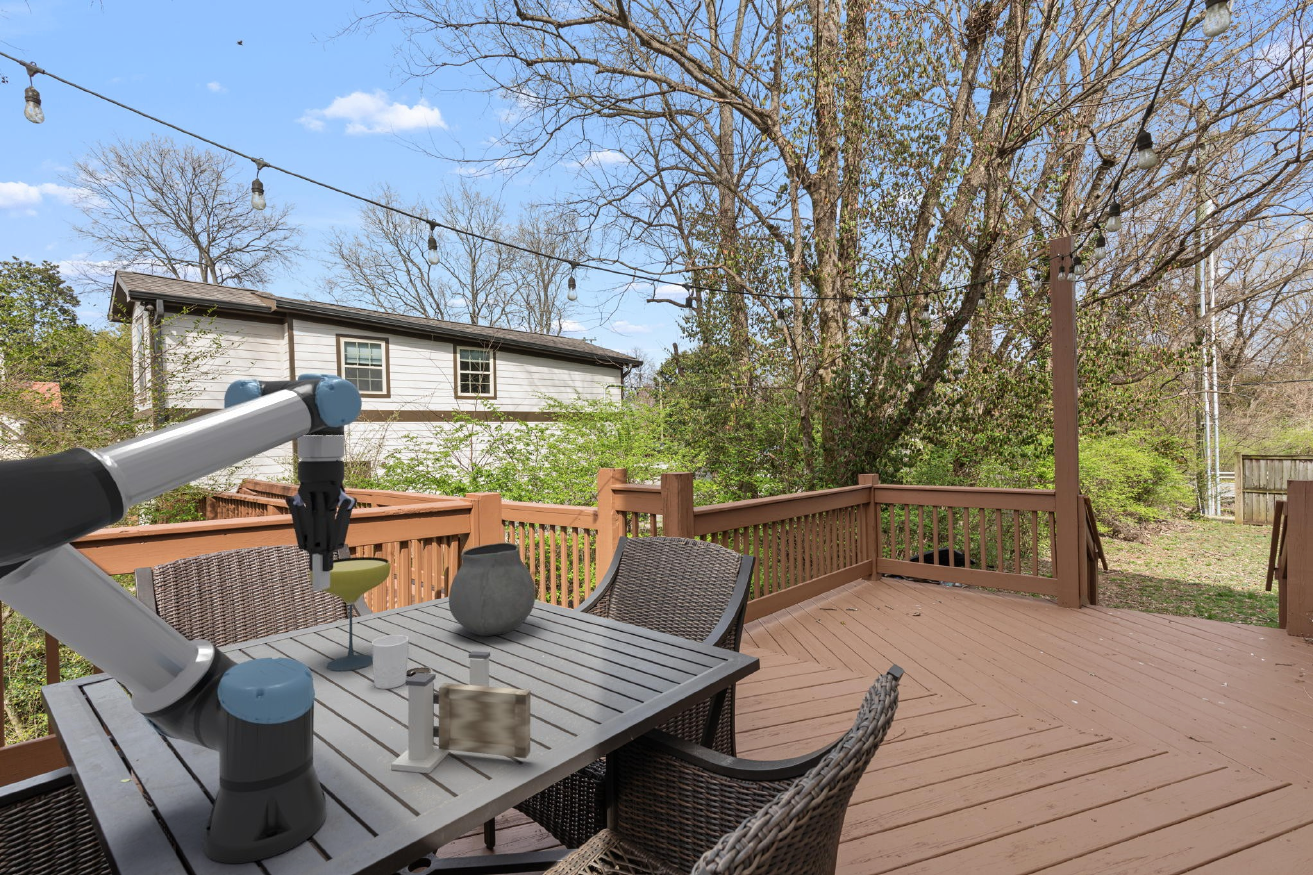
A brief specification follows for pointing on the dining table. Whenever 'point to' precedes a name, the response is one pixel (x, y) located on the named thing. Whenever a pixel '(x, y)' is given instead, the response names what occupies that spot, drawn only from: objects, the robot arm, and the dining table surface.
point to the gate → (483, 719)
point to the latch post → (479, 668)
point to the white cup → (390, 661)
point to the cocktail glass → (354, 597)
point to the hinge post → (420, 728)
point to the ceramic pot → (492, 590)
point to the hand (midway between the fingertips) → (321, 588)
